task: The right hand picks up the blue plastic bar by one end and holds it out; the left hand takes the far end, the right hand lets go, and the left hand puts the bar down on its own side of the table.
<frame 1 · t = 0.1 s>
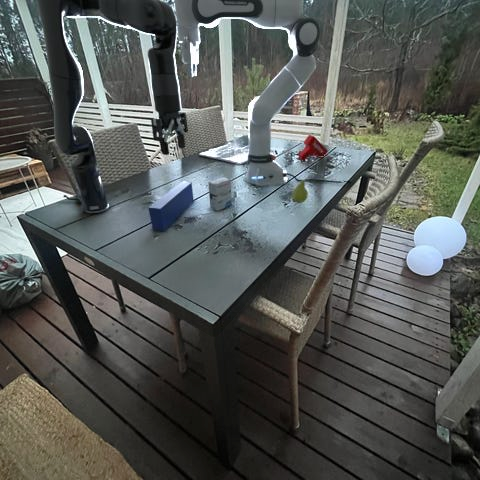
left hand: (174, 151, 85), 29 cm above the table, tool pointing down, fingers open, 8 cm apart
right hand: (192, 76, 120), 48 cm above the table, tool pointing down, fingers open, 8 cm apart
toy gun: (312, 159, 177), on the table
bar: (175, 214, 112), on the table
relief map: (231, 155, 186), on the table
ink box: (220, 206, 118), on the table
fruit: (299, 202, 122), on the table
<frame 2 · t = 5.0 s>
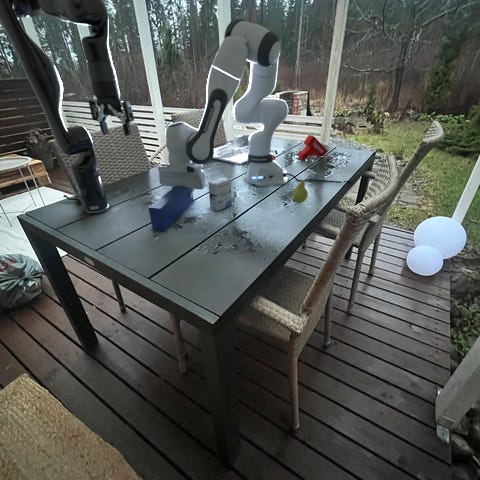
left hand: (117, 134, 92), 32 cm above the table, tool pointing down, fingers open, 8 cm apart
right hand: (184, 196, 118), 4 cm above the table, tool pointing down, fingers closed on bar, 5 cm apart
bar: (175, 214, 112), on the table, touching right hand
everything else where it was.
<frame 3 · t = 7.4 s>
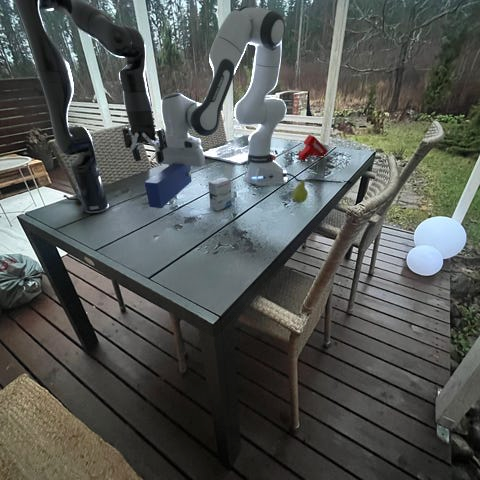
left hand: (149, 161, 91), 25 cm above the table, tool pointing down, fingers open, 8 cm apart
right hand: (182, 175, 113), 13 cm above the table, tool pointing down, fingers closed on bar, 5 cm apart
bar: (172, 193, 107), point 10 cm above the table, touching right hand
everything else where it was.
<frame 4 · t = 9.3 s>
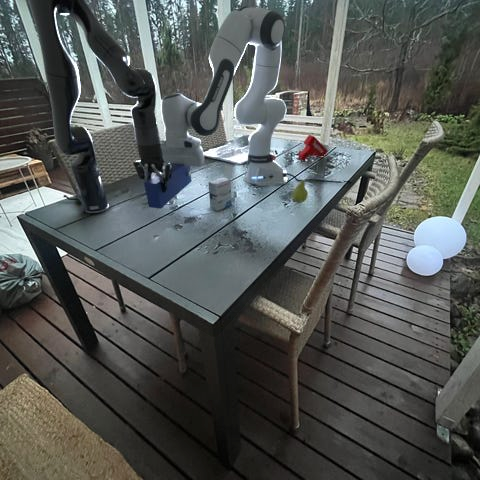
left hand: (157, 190, 97), 14 cm above the table, tool pointing down, fingers closed on bar, 4 cm apart
right hand: (181, 175, 113), 13 cm above the table, tool pointing down, fingers closed on bar, 5 cm apart
bar: (172, 193, 107), point 9 cm above the table, touching right hand, left hand
everything else where it was.
when the right hand's fingers open (13 cm above the table, at t = 10.2 s): bar stays where it is, held by the left hand.
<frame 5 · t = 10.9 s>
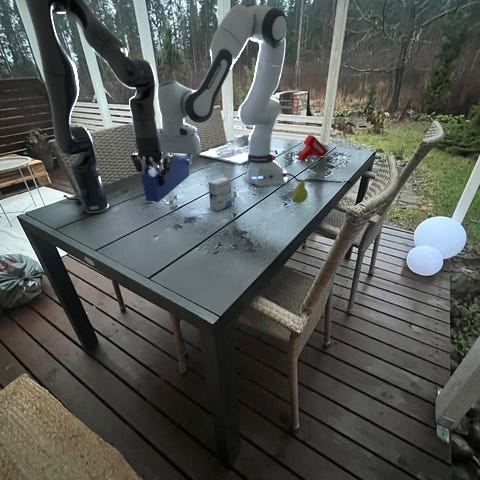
left hand: (155, 184, 96), 17 cm above the table, tool pointing down, fingers closed on bar, 4 cm apart
right hand: (179, 163, 114), 17 cm above the table, tool pointing down, fingers open, 8 cm apart
bar: (169, 187, 106), point 12 cm above the table, touching left hand
everything else where it was.
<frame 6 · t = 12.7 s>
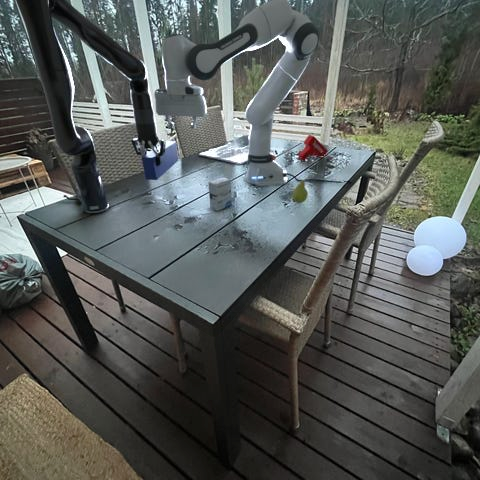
left hand: (152, 165, 113), 17 cm above the table, tool pointing down, fingers closed on bar, 4 cm apart
right hand: (182, 128, 108), 31 cm above the table, tool pointing down, fingers open, 8 cm apart
bar: (163, 169, 124), point 12 cm above the table, touching left hand
everything else where it was.
when the left hand's fingers open (6 cm above the table, at t = 16.5 s): bar drops 1 cm, on the table.
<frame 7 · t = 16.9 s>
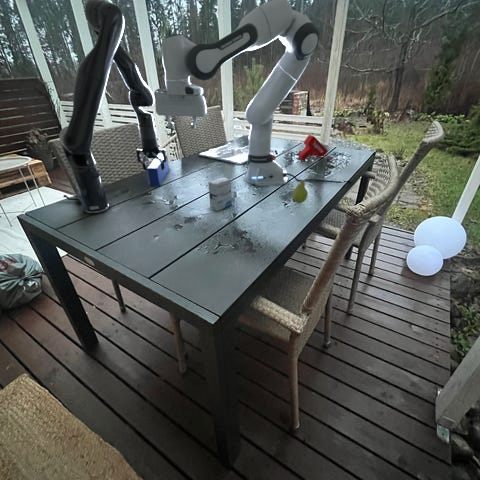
left hand: (154, 170, 138), 7 cm above the table, tool pointing down, fingers open, 8 cm apart
right hand: (182, 128, 108), 31 cm above the table, tool pointing down, fingers open, 8 cm apart
bar: (160, 177, 150), on the table
everything else where it was.
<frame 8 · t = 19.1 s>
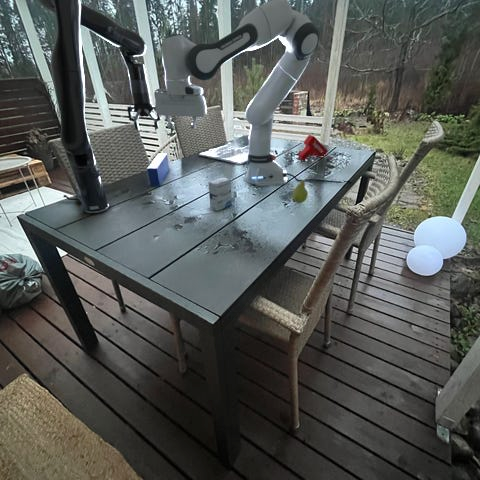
left hand: (147, 130, 128), 26 cm above the table, tool pointing down, fingers open, 8 cm apart
right hand: (182, 128, 108), 31 cm above the table, tool pointing down, fingers open, 8 cm apart
nothing on the table moved.
at the end: bar inside the target area (9.6 cm from its centre), on the table; the left hand is holding nothing; the right hand is holding nothing; bar at rest at the end (0.0 cm/s) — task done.
